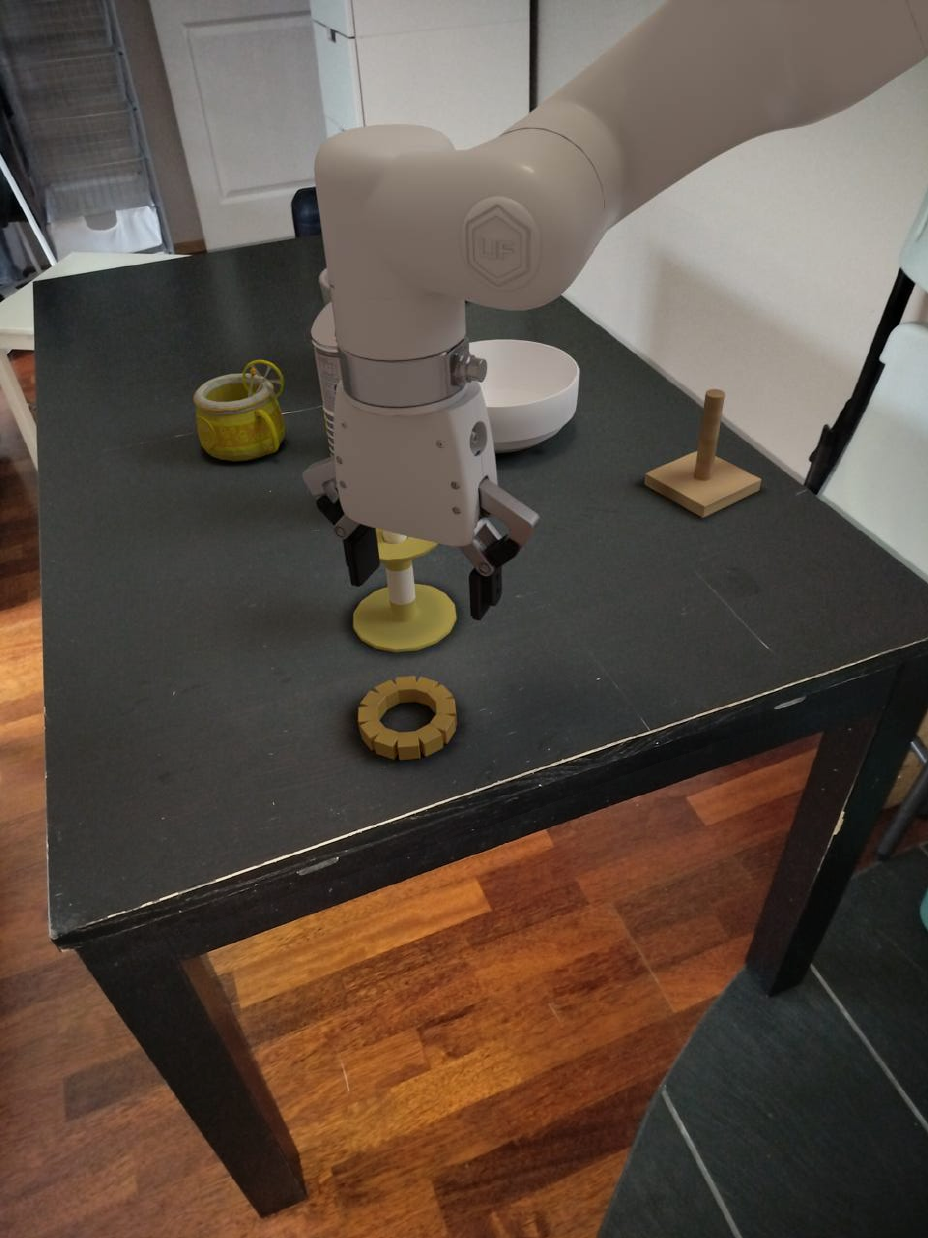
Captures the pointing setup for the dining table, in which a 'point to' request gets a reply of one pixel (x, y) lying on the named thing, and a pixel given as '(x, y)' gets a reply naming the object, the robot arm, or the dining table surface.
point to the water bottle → (327, 366)
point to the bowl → (526, 391)
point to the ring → (415, 741)
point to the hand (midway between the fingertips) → (423, 591)
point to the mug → (240, 415)
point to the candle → (403, 601)
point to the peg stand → (704, 469)
